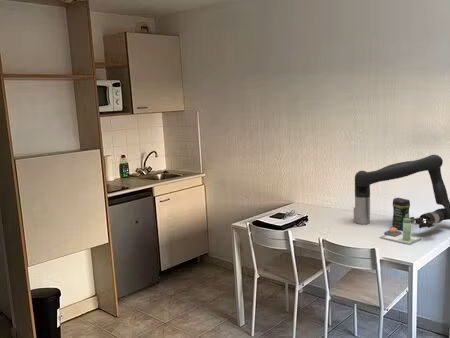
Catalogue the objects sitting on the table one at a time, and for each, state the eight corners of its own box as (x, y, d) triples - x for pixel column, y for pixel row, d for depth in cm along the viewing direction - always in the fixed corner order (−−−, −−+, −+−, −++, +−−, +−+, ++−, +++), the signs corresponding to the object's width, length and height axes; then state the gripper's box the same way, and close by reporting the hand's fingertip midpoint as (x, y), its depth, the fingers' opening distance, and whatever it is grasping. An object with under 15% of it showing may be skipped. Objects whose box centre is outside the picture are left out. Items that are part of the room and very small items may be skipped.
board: (378, 238, 253) (378, 234, 253) (392, 232, 262) (392, 229, 262) (409, 245, 239) (409, 241, 239) (422, 239, 248) (422, 235, 248)
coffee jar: (389, 227, 272) (390, 198, 269) (398, 225, 275) (399, 196, 273) (403, 231, 263) (403, 200, 260) (412, 228, 267) (412, 198, 264)
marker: (401, 239, 246) (401, 218, 244) (405, 238, 248) (405, 217, 246) (408, 241, 243) (408, 220, 241) (411, 239, 245) (412, 218, 243)
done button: (387, 232, 256) (387, 228, 256) (391, 230, 259) (391, 226, 258) (394, 233, 253) (394, 229, 253) (397, 232, 256) (398, 228, 255)
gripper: (418, 210, 262) (401, 215, 253) (441, 215, 250) (424, 220, 241) (417, 223, 263) (401, 228, 254) (441, 228, 251) (424, 234, 242)
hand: (412, 224), depth 247 cm, fingers open, 8 cm apart
